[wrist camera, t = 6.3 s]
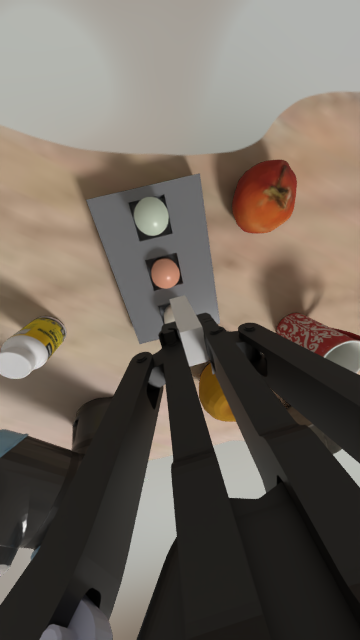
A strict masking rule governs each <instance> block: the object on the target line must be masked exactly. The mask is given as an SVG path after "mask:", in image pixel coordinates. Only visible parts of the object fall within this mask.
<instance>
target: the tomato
mask: <svg viewBox="0 0 360 640" xmlns="http://www.w3.org/2000/svg"><path fill="white" fill-rule="evenodd" d="M296 187H297V180H296V176H295V174H294V172H293V171H292V170H291V168H290V166H289V164H288V163H287V162H286V161H284V160H270V161H264V162H261V163H259V164H257V165H255V166H253V167H252V168H251V169H249V170H248V171H246V172H245V173H244V175H243V176H242V177H241V178H240V180H239V181H238V184H237V187H236V190H235V194H234V198H233V202H232V209H233V215H234V218H235V220H236V223H237V225H238V226H239V227H240V228H241V229H242V230H243V231H245V232H248V233H267V232H271V231H272V230H274V229H275V228H277V227H278V226H280V225H281V224H283V223H284V222H285V221H287V220H288V219H289V218H290V216H291V214H292V212H293V209H294V204H295V197H296Z"/></svg>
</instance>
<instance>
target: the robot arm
mask: <svg viewBox="0 0 360 640" xmlns="http://www.w3.org/2000/svg"><path fill="white" fill-rule="evenodd" d="M169 300H170V304H171V307H172V311H173V315H174V318H175V321H174V322H170V323H167V324H163V326H162V328H161V331H160V332H159V334H158V336H159V339H160V342H161V346H162V349H161V350H160V351H159V352H157V353H155V354H153V355H152V354H151V353H149V352H142V353H139V354H137V355H135V356H134V357H133V358H132V360H131V361H130V363H129V365H128V368H127V370H126V372H125V374H124V376H123V378H122V380H121V382H120V384H119V386H118V388H117V390H116V392H115V394H114V396H113V398H100V399H95V400H92V401H90V402H88V403H86V404H85V405H83V406H82V407H81V408H80V409H79V410H78V412H77V414H76V417H75V419H74V422H73V434H72V450H69V449H66V448H63V447H60V446H57V445H54V444H51V443H48V442H45V441H42V440H39V439H36V438H33V437H30V436H28V434H21V433H17V432H13V431H10V430H5V429H1V430H0V576H1V575H3V574H4V573H5V572H6V571H8V569H9V567H10V565H11V563H12V561H13V559H14V557H15V555H16V553H17V551H18V549H19V547H21V548H23V547H24V548H31V549H34V552H33V553H32V555H31V562H30V563H29V565H28V566H27V568H26V569H25V571H24V572H23V574H22V575H21V576H20V578H19V579H18V581H17V582H16V584H15V585H14V586H13V588H12V589H11V591H10V592H9V594H8V595H7V597H6V598H5V599H4V601H3V602H2V604H1V605H0V640H113V635H112V630H111V626H110V623H109V618H110V616H111V613H112V610H113V607H114V604H115V600H116V597H117V594H118V591H119V588H120V584H121V581H122V577H123V573H124V569H125V564H126V560H127V556H128V552H129V548H130V543H131V538H132V533H133V529H134V524H135V519H136V515H137V510H138V505H139V501H140V496H141V492H142V487H143V482H144V477H145V473H146V468H147V463H148V459H149V454H150V449H151V445H152V440H153V435H154V431H155V426H156V421H157V417H158V412H159V407H160V403H161V398H162V393H163V385H165V384H166V392H167V402H168V411H169V421H170V431H171V440H172V450H173V463H172V465H171V473H172V487H173V498H174V509H175V520H176V531H177V537H176V539H175V541H174V542H173V544H172V546H171V548H170V550H169V552H168V554H167V556H166V560H165V562H164V564H163V567H162V570H161V573H160V576H159V578H158V581H157V584H156V587H155V590H154V592H153V596H152V598H151V601H150V604H149V606H148V609H147V612H146V615H145V618H144V620H143V623H142V626H141V629H140V632H139V634H138V637H137V640H360V487H359V486H358V485H357V484H356V483H355V481H354V480H353V479H352V478H351V476H350V475H349V474H348V473H347V472H346V470H345V469H344V468H343V467H342V466H341V464H340V463H339V462H338V461H337V459H336V458H335V457H334V456H333V454H332V453H331V452H330V451H329V450H328V448H327V447H326V446H325V445H324V443H323V442H322V441H321V440H320V439H319V437H318V436H317V435H316V434H315V433H314V432H313V431H312V430H311V428H309V427H308V426H306V425H299V424H298V423H297V422H296V421H295V420H294V419H293V417H292V416H291V415H290V413H289V412H288V411H287V410H286V408H285V407H284V406H283V404H282V403H281V402H280V400H279V399H278V398H277V396H276V395H275V394H274V393H273V391H274V392H275V393H277V394H278V395H279V396H280V397H281V398H283V399H284V400H285V401H286V402H287V403H289V404H290V405H291V406H292V407H293V408H295V409H296V410H297V411H298V412H299V413H300V414H302V415H303V416H304V417H305V418H306V419H308V420H309V421H310V422H311V423H312V424H314V425H315V426H316V427H317V428H318V429H319V430H321V431H322V432H323V433H324V434H325V435H327V436H328V437H329V438H330V439H331V440H333V441H334V442H335V443H336V444H337V445H339V446H340V447H341V448H342V449H343V450H345V451H346V452H347V453H348V454H349V455H350V456H352V457H353V458H354V459H355V460H356V461H358V462H359V463H360V375H358V374H356V373H354V372H352V371H350V370H348V369H346V368H344V367H342V366H340V365H338V364H336V363H334V362H332V361H330V360H328V359H326V358H324V357H322V356H320V355H318V354H316V353H314V352H312V351H310V350H308V349H306V348H304V347H302V346H300V345H298V344H296V343H294V342H292V341H290V340H288V339H286V338H284V337H282V336H280V335H278V334H276V333H274V332H272V331H270V330H268V329H266V328H264V327H262V326H260V325H258V324H256V323H245V324H242V325H240V326H239V327H238V331H233V332H229V331H226V330H225V329H224V328H223V327H220V326H218V325H217V323H216V322H215V320H214V319H213V318H212V316H211V315H210V314H208V313H206V312H205V313H202V314H198V315H196V314H195V313H194V311H193V309H192V307H191V305H190V303H189V302H188V300H187V298H186V296H185V295H184V296H180V297H176V298H172V299H169ZM262 353H263V354H264V355H263V354H262ZM208 356H209V357H208ZM209 359H210V362H211V367H212V373H213V374H214V373H215V375H216V378H217V380H218V382H219V384H220V386H221V389H222V391H223V393H224V395H225V398H226V400H227V402H228V404H229V406H230V409H231V411H232V413H233V415H234V417H235V420H236V422H237V424H238V426H239V429H240V431H241V433H242V435H243V437H244V440H245V442H246V444H247V446H248V448H249V451H250V453H251V455H252V457H253V459H254V462H255V464H256V466H257V468H258V471H259V473H260V475H261V478H262V480H263V483H264V487H265V490H266V494H265V495H263V496H262V497H261V498H259V499H241V498H229V497H228V494H227V491H226V487H225V484H224V480H223V477H222V474H221V470H220V467H219V464H218V461H217V457H216V454H215V452H214V448H213V445H212V441H211V438H210V435H209V431H208V428H207V425H206V421H205V418H204V414H203V411H202V408H201V404H200V401H199V397H198V394H197V391H196V387H195V384H194V380H193V377H192V374H191V370H190V366H193V365H197V364H200V363H204V362H208V361H209ZM270 388H271V389H272V390H273V391H272V390H271V389H270Z"/></svg>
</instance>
